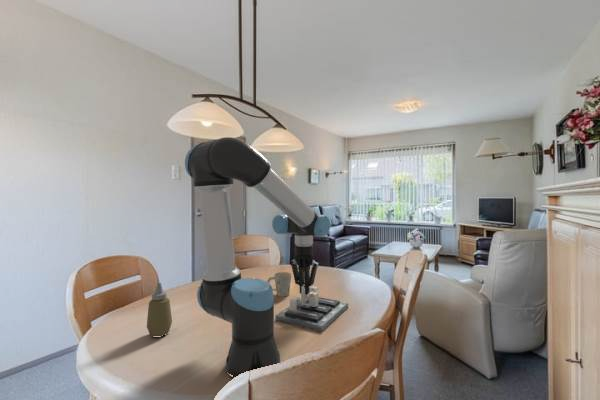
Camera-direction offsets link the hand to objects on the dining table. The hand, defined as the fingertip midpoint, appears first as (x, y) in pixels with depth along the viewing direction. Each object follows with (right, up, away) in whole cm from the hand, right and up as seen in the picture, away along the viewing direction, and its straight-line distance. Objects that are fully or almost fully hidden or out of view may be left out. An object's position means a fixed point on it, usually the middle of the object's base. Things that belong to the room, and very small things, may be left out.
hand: (304, 301), depth 121 cm
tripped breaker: (+4, -1, -2) cm, 4 cm away
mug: (-12, -4, +22) cm, 26 cm away
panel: (+4, -4, -2) cm, 6 cm away
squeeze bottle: (-51, -5, -19) cm, 55 cm away
